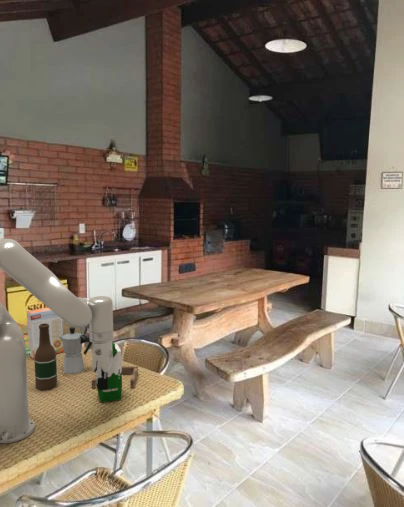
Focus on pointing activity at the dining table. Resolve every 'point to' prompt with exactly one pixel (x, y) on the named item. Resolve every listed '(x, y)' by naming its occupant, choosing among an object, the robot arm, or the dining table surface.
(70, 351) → the coffee maker
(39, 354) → the beer bottle
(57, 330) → the cracker box
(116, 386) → the soya milk
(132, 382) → the frame
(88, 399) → the dining table surface
